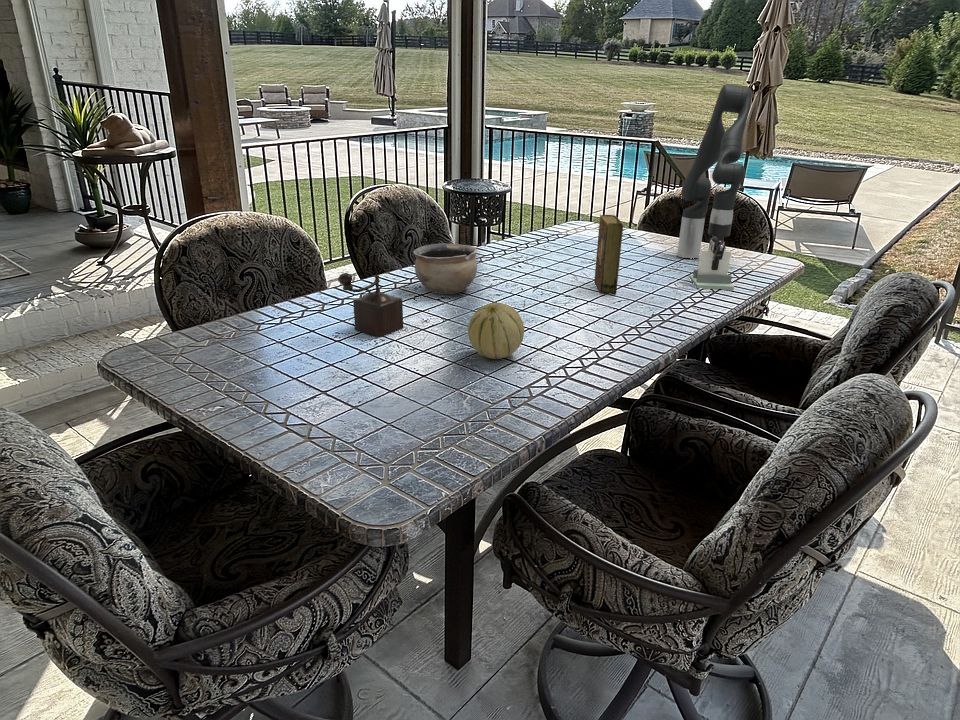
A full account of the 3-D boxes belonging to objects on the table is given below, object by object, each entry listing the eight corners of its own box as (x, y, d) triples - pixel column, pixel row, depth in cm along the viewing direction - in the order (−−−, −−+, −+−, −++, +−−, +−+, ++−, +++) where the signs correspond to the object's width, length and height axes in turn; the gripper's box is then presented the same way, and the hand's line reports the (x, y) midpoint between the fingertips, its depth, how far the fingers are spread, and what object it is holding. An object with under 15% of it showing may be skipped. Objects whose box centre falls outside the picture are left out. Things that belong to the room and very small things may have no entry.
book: (593, 282, 237) (599, 214, 228) (608, 282, 237) (614, 214, 228) (600, 295, 222) (607, 223, 213) (616, 295, 222) (623, 223, 212)
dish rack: (689, 278, 244) (690, 267, 243) (723, 280, 243) (725, 268, 241) (696, 288, 231) (698, 276, 230) (733, 290, 230) (735, 278, 229)
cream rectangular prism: (697, 273, 238) (701, 249, 234) (725, 274, 237) (729, 250, 233) (699, 275, 235) (702, 251, 232) (727, 276, 234) (731, 252, 231)
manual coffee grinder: (377, 320, 194) (374, 262, 187) (404, 328, 188) (402, 268, 181) (339, 334, 183) (334, 273, 176) (366, 343, 177) (362, 280, 170)
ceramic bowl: (469, 303, 212) (469, 258, 206) (406, 298, 216) (404, 254, 210) (482, 285, 232) (482, 244, 226) (424, 280, 236) (423, 240, 230)
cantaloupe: (520, 346, 176) (522, 294, 171) (525, 367, 163) (528, 311, 157) (467, 346, 176) (467, 293, 170) (467, 367, 162) (468, 311, 157)
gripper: (705, 217, 235) (698, 263, 242) (714, 225, 222) (707, 273, 229) (726, 218, 234) (719, 264, 241) (736, 225, 222) (728, 274, 228)
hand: (713, 268), depth 235 cm, fingers open, 3 cm apart
